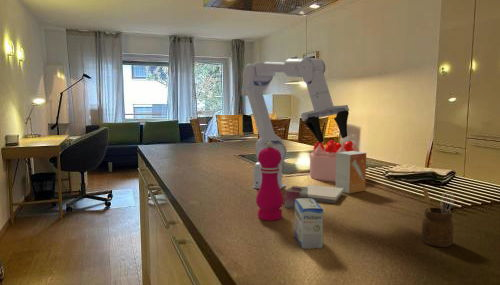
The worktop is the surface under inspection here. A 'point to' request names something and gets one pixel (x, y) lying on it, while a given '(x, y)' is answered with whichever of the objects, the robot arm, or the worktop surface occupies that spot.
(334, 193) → the plate
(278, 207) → the pepper mill
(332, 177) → the cake
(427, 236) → the utensil holder
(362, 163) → the small box
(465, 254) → the worktop surface
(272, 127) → the robot arm
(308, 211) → the medicine box
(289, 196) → the housing
